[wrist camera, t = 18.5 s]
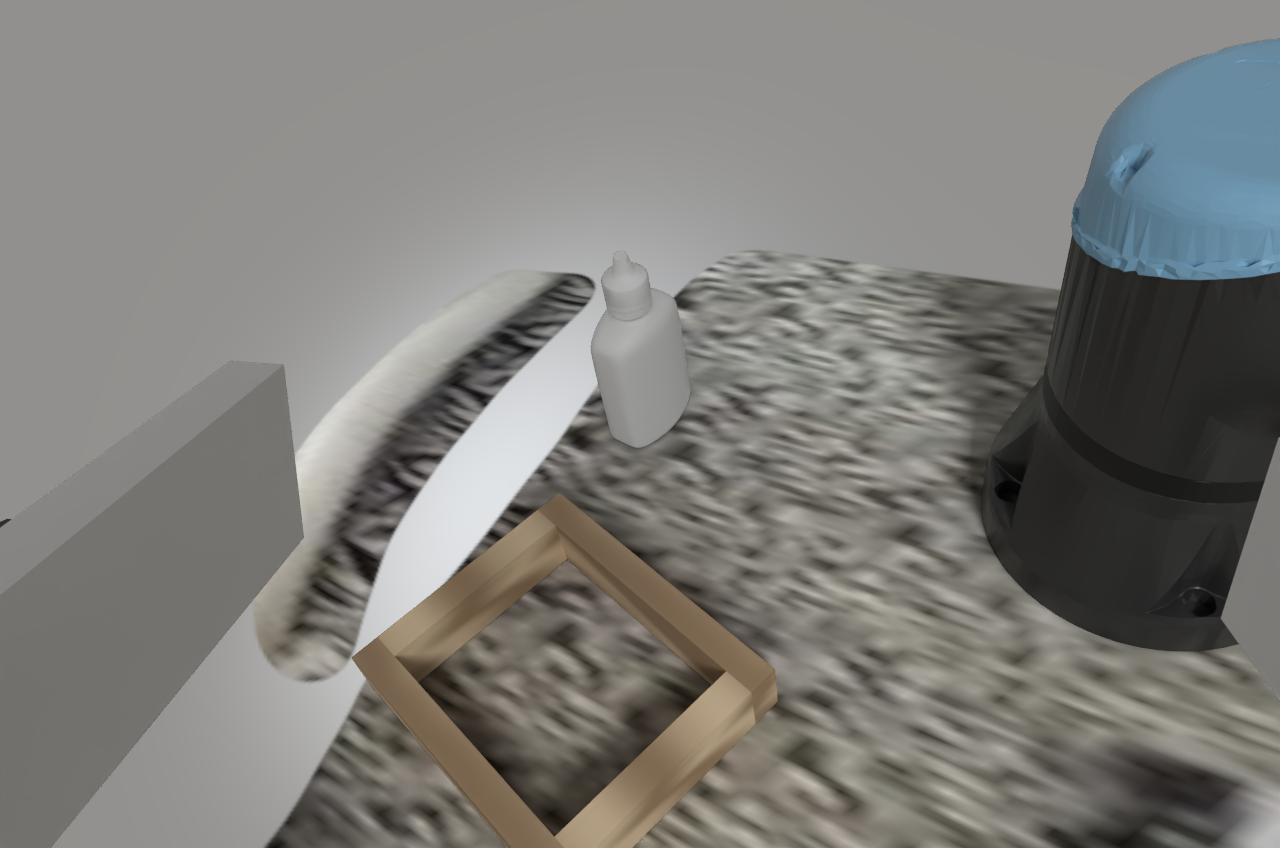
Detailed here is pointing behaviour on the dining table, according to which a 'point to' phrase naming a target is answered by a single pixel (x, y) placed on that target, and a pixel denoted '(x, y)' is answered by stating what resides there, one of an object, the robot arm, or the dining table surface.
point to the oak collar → (562, 531)
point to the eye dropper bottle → (639, 356)
